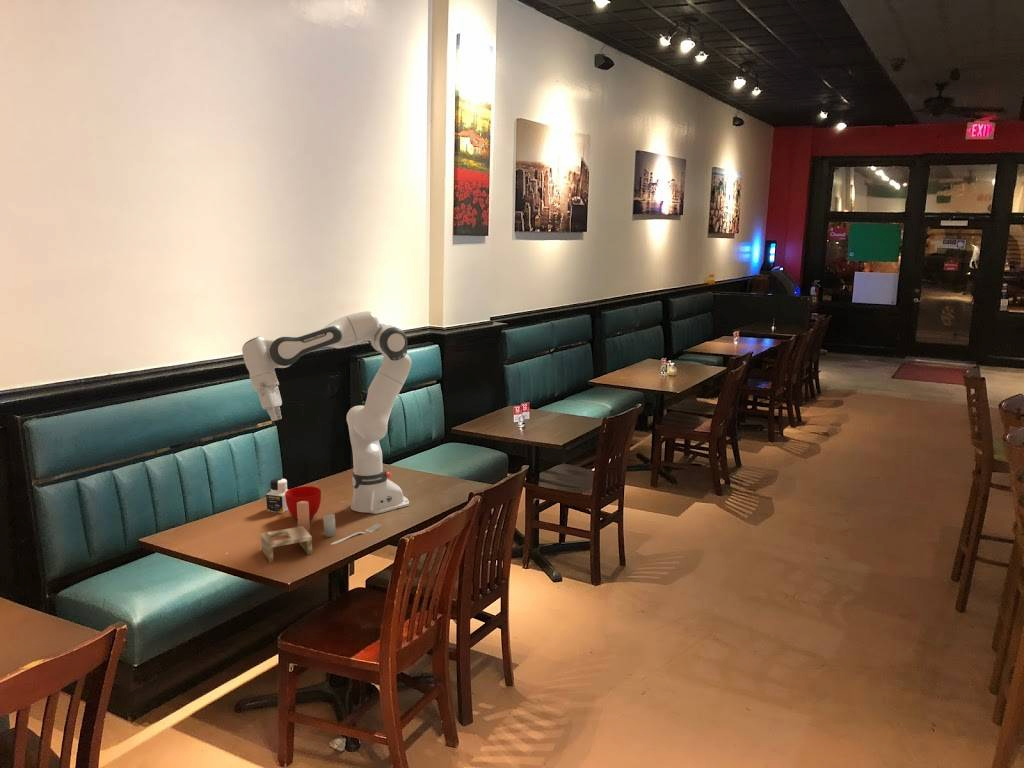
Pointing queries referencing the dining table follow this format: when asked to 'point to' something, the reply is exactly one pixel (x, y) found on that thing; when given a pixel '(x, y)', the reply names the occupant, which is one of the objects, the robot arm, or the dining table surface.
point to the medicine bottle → (277, 496)
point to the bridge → (286, 540)
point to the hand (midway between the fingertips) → (277, 420)
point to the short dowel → (329, 525)
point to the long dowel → (303, 515)
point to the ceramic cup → (303, 499)
